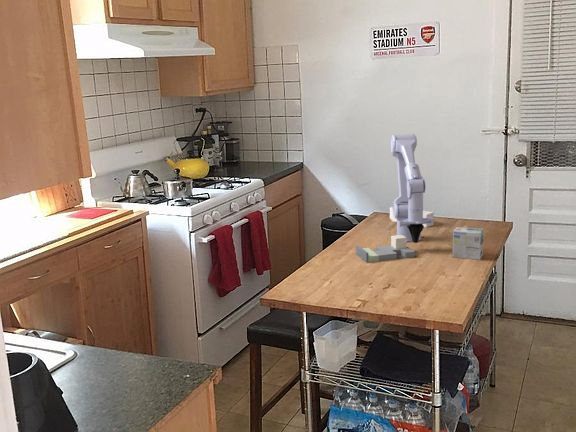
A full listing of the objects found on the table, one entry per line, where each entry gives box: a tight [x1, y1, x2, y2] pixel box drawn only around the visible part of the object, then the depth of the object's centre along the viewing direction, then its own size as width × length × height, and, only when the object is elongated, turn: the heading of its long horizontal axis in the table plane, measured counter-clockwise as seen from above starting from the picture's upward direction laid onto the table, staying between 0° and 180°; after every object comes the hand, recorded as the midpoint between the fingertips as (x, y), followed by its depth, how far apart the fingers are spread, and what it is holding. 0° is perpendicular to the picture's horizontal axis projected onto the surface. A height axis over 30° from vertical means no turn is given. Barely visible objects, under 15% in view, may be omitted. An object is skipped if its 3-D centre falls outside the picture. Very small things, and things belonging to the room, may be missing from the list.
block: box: [390, 234, 407, 249], centre depth 262 cm, size 4×4×4 cm
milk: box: [389, 206, 435, 228], centre depth 306 cm, size 6×6×22 cm
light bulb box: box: [451, 226, 484, 261], centre depth 254 cm, size 11×7×11 cm, turn 65°
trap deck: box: [355, 244, 416, 263], centre depth 259 cm, size 20×11×4 cm, turn 105°
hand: (415, 242), depth 264 cm, fingers closed
